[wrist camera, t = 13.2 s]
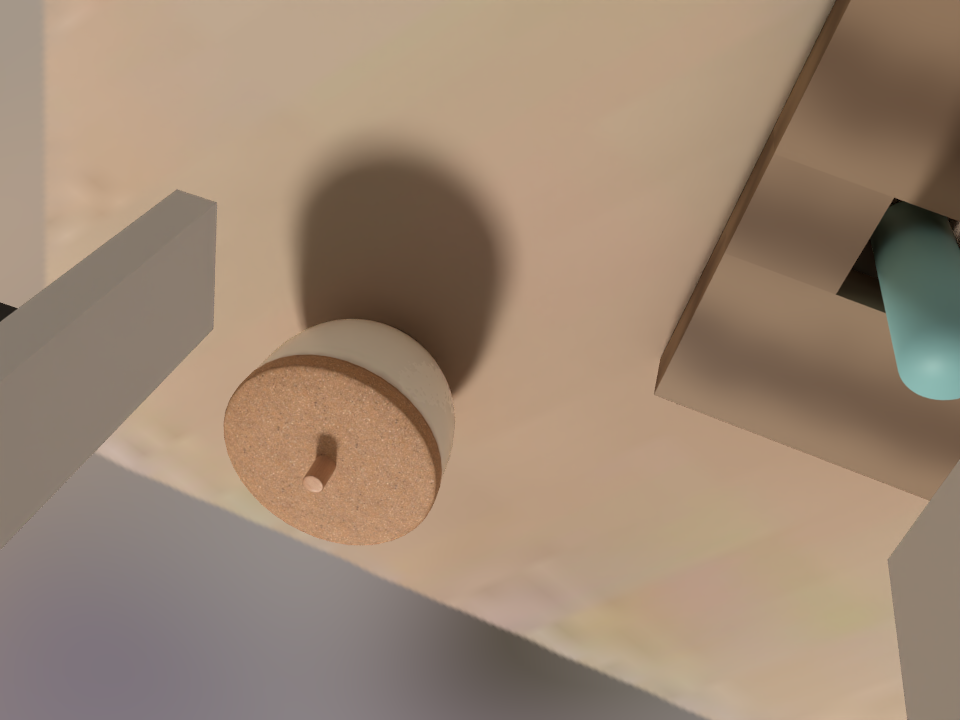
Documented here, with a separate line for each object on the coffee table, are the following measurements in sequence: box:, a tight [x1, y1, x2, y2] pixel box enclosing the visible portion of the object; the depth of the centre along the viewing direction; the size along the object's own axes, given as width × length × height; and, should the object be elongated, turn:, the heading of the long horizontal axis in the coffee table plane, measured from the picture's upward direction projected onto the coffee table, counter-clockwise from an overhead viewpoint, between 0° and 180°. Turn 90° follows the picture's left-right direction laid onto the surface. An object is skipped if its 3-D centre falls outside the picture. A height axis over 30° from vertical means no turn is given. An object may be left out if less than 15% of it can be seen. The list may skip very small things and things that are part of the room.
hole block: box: [654, 0, 960, 501], centre depth 37 cm, size 20×14×3 cm
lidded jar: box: [224, 319, 455, 545], centre depth 45 cm, size 11×11×9 cm
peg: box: [870, 201, 960, 400], centre depth 34 cm, size 3×3×10 cm
